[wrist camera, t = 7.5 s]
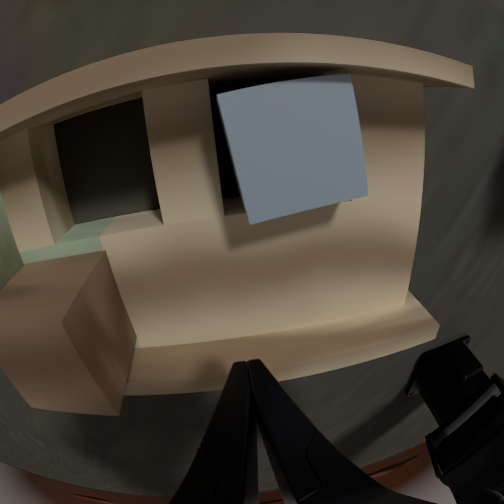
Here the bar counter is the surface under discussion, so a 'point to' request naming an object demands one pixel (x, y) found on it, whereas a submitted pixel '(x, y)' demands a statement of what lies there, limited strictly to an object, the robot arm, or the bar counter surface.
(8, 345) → the walnut block
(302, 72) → the box
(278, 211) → the trapped block
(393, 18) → the bar counter surface
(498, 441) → the robot arm
